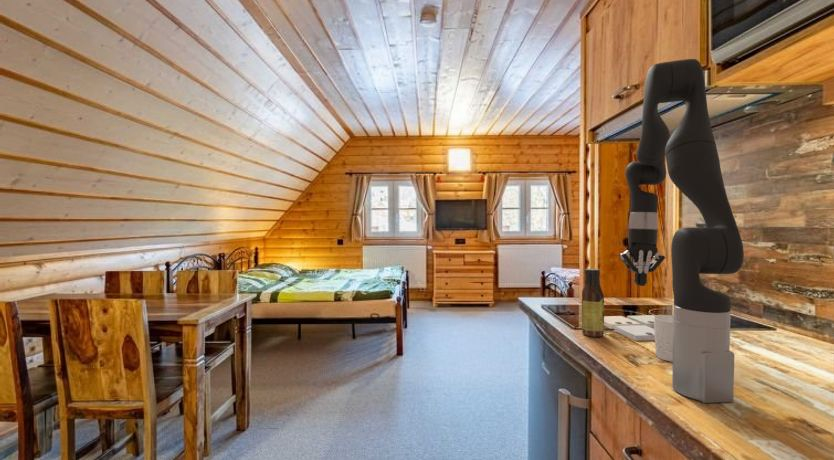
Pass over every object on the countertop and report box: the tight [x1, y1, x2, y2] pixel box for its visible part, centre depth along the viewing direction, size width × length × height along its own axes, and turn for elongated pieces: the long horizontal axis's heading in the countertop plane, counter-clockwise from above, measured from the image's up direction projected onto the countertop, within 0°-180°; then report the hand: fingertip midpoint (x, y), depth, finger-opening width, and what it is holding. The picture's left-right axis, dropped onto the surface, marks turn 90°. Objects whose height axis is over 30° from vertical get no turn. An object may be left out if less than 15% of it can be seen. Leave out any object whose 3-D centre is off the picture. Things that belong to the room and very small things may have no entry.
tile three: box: [626, 314, 656, 329], centre depth 131 cm, size 10×10×2 cm
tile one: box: [614, 325, 655, 342], centre depth 118 cm, size 10×10×2 cm
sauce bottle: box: [581, 268, 605, 338], centre depth 118 cm, size 7×6×20 cm
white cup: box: [653, 314, 674, 363], centre depth 98 cm, size 8×8×10 cm
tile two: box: [604, 315, 641, 330], centre depth 130 cm, size 10×10×2 cm
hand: (640, 285), depth 117 cm, fingers closed
